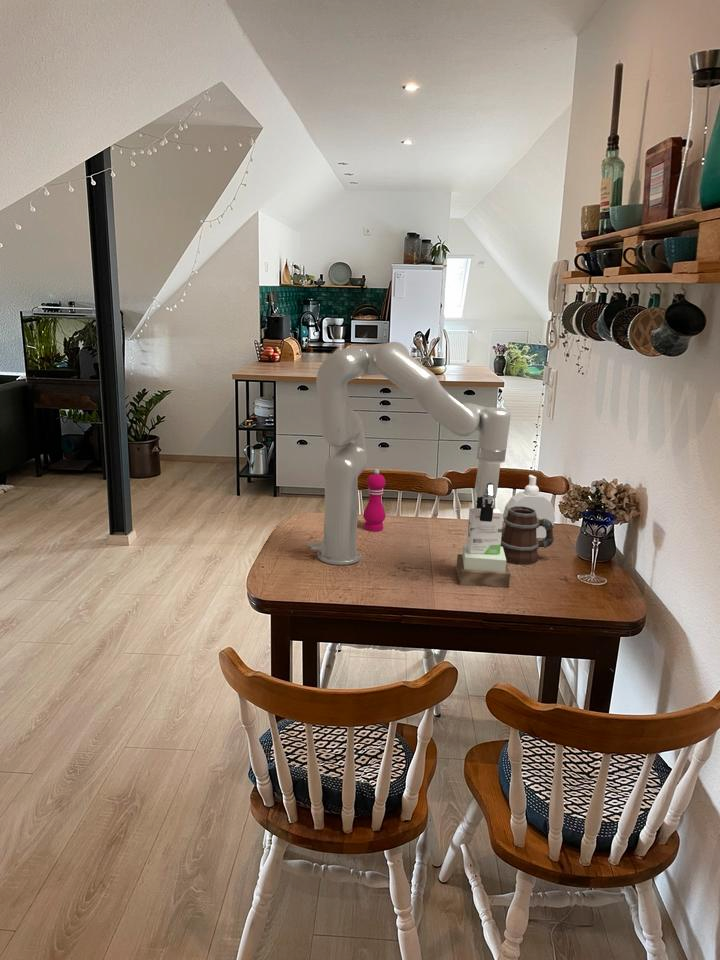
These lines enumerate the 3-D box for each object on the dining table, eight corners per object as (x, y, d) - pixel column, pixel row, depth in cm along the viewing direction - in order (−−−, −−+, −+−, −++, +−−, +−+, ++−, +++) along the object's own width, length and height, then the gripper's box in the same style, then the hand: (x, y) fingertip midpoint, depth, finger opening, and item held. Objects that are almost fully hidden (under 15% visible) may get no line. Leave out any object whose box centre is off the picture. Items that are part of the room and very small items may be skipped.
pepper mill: (361, 530, 238) (363, 471, 233) (364, 524, 245) (367, 465, 239) (383, 533, 237) (386, 472, 231) (386, 526, 244) (389, 467, 238)
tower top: (464, 569, 199) (465, 557, 198) (462, 555, 209) (463, 543, 208) (505, 572, 198) (506, 560, 197) (501, 558, 208) (502, 546, 207)
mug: (498, 562, 216) (503, 514, 212) (497, 548, 227) (502, 502, 223) (553, 568, 214) (559, 519, 210) (549, 553, 225) (555, 507, 221)
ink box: (496, 548, 205) (499, 508, 202) (500, 554, 201) (503, 513, 198) (465, 547, 205) (469, 507, 202) (469, 553, 200) (472, 512, 197)
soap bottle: (547, 533, 244) (553, 475, 239) (553, 538, 239) (560, 479, 234) (500, 533, 242) (506, 474, 237) (505, 538, 237) (511, 478, 232)
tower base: (460, 586, 198) (461, 571, 197) (456, 568, 211) (457, 554, 210) (508, 589, 198) (510, 574, 197) (501, 571, 211) (503, 556, 209)
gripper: (473, 446, 204) (467, 504, 209) (480, 460, 187) (472, 524, 192) (501, 448, 204) (493, 507, 208) (509, 463, 187) (501, 526, 192)
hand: (483, 515), depth 200 cm, fingers open, 9 cm apart
